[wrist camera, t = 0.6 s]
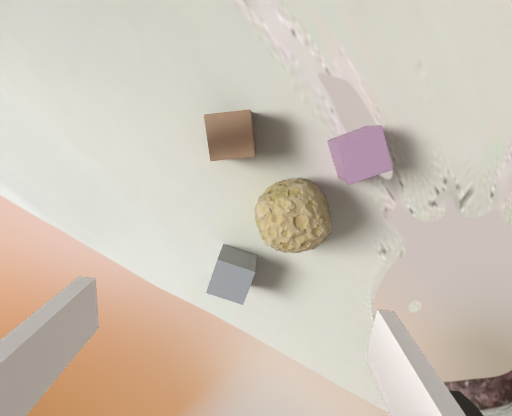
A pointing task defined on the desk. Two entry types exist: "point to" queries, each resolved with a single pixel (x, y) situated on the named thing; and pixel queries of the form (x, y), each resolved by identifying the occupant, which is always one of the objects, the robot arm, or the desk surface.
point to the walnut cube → (230, 135)
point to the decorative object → (293, 216)
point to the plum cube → (360, 154)
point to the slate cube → (233, 274)
